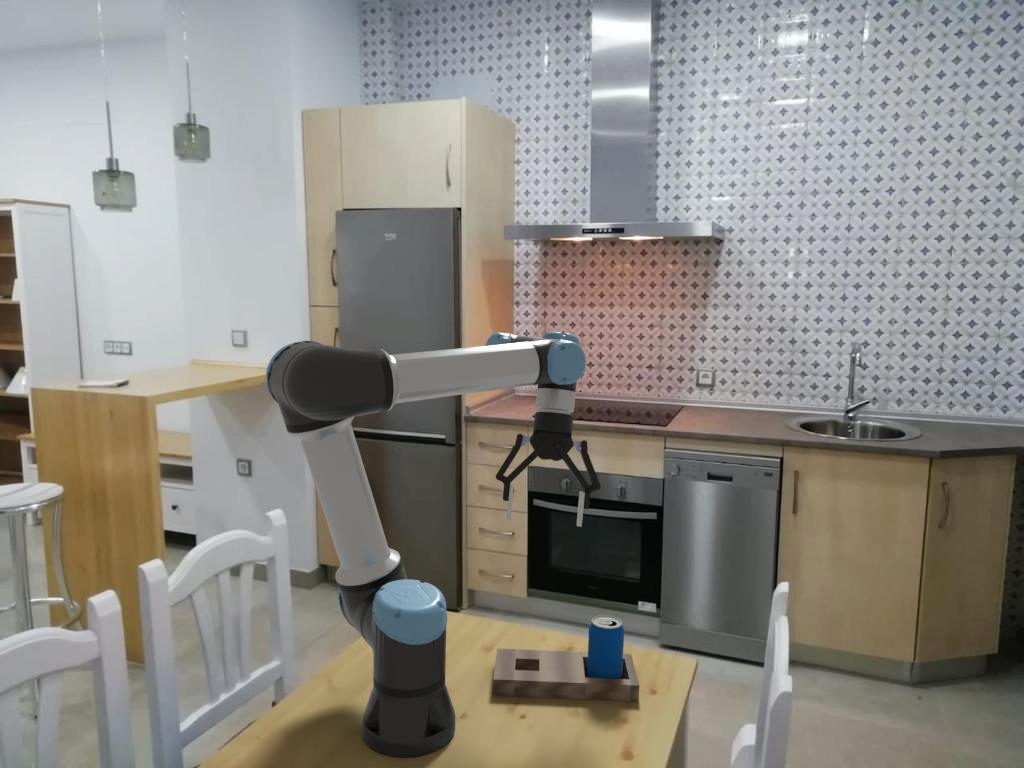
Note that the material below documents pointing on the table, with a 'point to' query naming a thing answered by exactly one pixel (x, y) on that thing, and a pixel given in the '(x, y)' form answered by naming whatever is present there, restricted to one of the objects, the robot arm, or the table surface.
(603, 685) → the hole board
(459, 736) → the table surface
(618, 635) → the beverage can
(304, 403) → the robot arm
